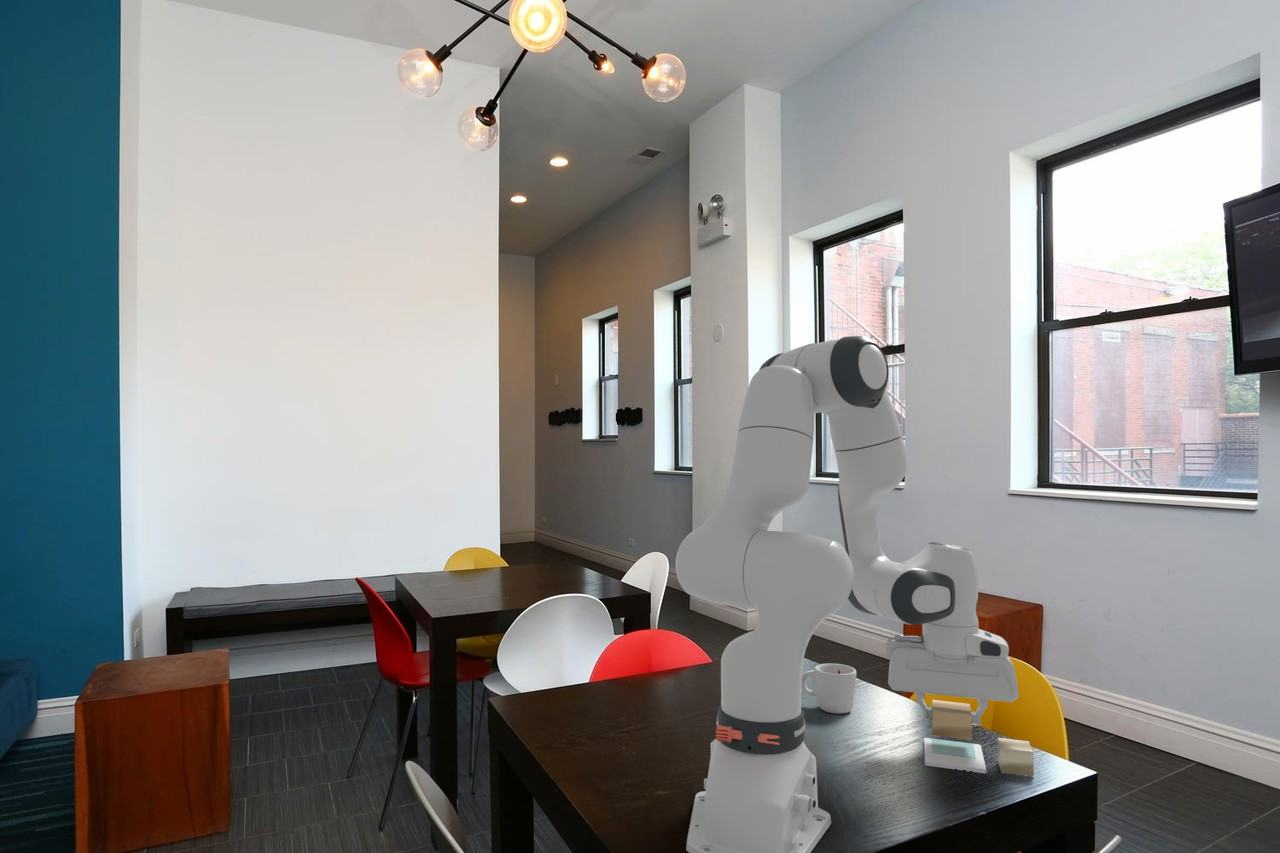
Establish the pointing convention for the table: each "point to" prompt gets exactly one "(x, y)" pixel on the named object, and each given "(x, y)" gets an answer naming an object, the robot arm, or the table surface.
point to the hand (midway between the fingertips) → (951, 721)
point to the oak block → (951, 719)
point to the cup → (832, 687)
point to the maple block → (1015, 757)
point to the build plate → (954, 755)
